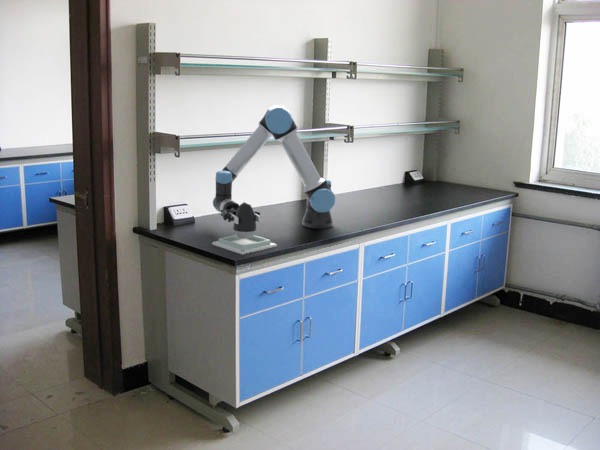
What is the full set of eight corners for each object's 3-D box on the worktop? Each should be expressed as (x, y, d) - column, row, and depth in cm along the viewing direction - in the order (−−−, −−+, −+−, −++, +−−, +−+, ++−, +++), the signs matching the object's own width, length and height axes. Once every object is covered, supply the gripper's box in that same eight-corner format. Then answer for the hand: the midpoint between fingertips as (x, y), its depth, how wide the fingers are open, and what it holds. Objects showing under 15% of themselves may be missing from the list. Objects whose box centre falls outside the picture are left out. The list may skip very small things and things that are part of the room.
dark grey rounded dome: (255, 233, 294) (256, 200, 290) (257, 239, 284) (258, 205, 281) (232, 233, 292) (232, 200, 289) (233, 239, 282) (234, 205, 279)
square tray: (246, 237, 303) (246, 229, 302) (277, 246, 290) (277, 238, 289) (212, 244, 289) (212, 236, 288) (242, 254, 275) (242, 246, 275)
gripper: (252, 215, 308) (272, 226, 288) (207, 218, 298) (223, 230, 279) (253, 199, 306) (272, 210, 286) (207, 202, 296) (224, 213, 277)
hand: (248, 220), depth 282 cm, fingers closed on dark grey rounded dome, 9 cm apart
